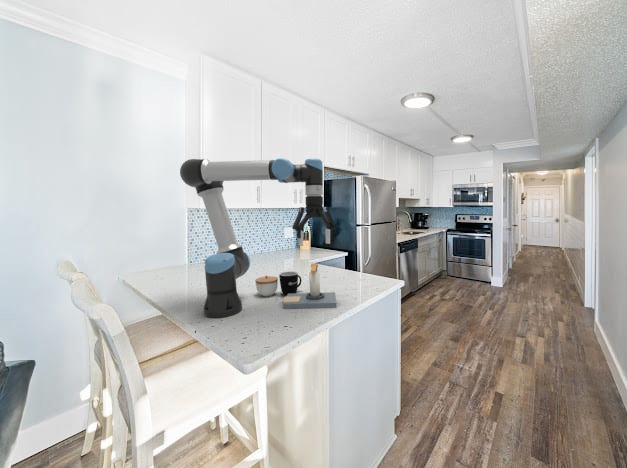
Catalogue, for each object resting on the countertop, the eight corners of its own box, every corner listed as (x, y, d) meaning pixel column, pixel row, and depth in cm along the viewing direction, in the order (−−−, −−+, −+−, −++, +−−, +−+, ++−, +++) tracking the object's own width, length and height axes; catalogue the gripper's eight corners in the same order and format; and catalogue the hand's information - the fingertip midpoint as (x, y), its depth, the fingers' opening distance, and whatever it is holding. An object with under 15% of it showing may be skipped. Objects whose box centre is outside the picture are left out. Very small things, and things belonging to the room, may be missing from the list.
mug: (287, 298, 128) (286, 276, 127) (276, 294, 134) (275, 273, 133) (307, 292, 135) (306, 272, 135) (296, 288, 142) (295, 269, 141)
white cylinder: (309, 298, 119) (308, 273, 118) (310, 295, 123) (309, 271, 122) (320, 298, 119) (319, 273, 118) (320, 295, 123) (319, 271, 122)
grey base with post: (282, 308, 114) (280, 275, 113) (287, 297, 128) (285, 267, 127) (336, 307, 113) (335, 273, 112) (335, 296, 127) (334, 266, 126)
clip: (311, 266, 126) (311, 263, 126) (318, 266, 126) (318, 263, 126) (309, 273, 112) (309, 270, 112) (317, 273, 112) (317, 270, 112)
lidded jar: (254, 293, 138) (253, 274, 137) (275, 290, 141) (274, 272, 140) (258, 299, 128) (257, 279, 127) (280, 295, 131) (279, 276, 130)
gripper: (291, 195, 109) (292, 248, 111) (342, 195, 121) (343, 243, 123) (284, 196, 116) (285, 245, 118) (333, 196, 128) (333, 241, 130)
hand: (314, 244), depth 121 cm, fingers open, 13 cm apart
